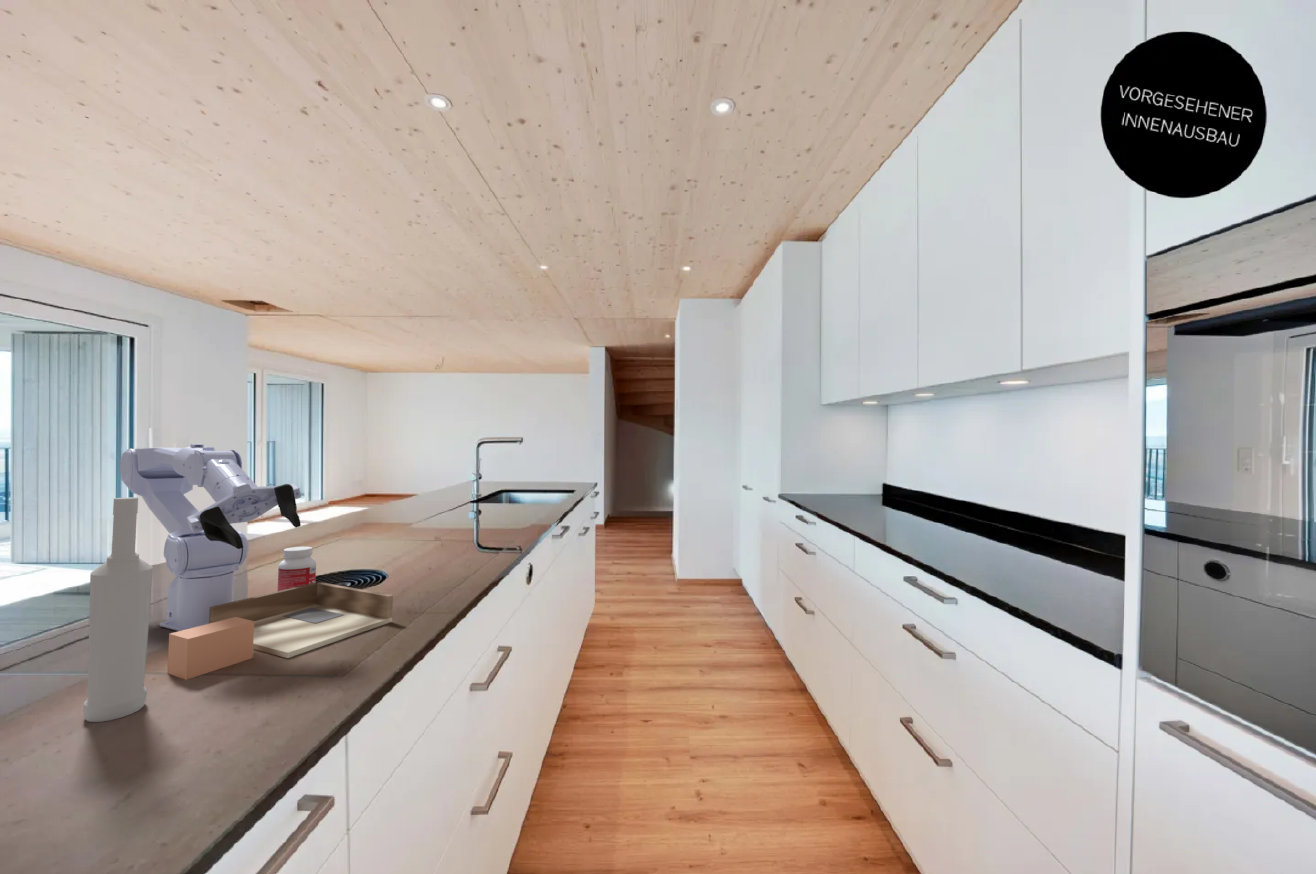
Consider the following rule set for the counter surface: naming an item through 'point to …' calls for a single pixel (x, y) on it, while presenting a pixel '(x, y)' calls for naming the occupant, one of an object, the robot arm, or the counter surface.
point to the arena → (307, 616)
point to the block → (210, 647)
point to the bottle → (119, 623)
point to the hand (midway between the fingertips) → (269, 532)
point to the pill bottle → (296, 568)
